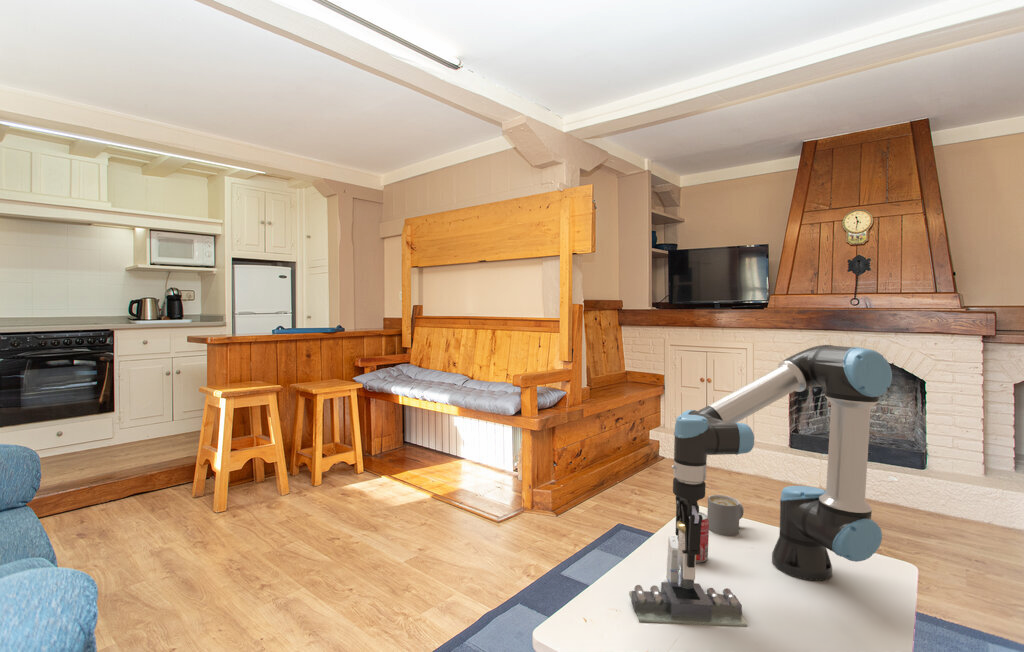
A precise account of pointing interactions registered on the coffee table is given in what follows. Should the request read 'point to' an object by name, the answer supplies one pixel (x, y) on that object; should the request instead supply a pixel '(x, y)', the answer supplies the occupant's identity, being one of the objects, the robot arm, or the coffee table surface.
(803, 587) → the coffee table surface
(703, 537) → the soda can
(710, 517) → the coffee mug
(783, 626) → the coffee table surface
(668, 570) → the ink box
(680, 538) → the pin
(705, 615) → the grey board with brackets
